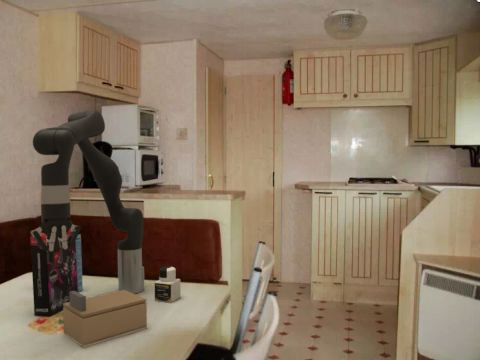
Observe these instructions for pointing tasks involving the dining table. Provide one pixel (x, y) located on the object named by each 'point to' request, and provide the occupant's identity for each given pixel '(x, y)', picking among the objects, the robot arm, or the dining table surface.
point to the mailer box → (104, 324)
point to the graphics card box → (52, 277)
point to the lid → (101, 302)
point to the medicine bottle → (167, 285)
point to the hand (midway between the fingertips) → (57, 262)
